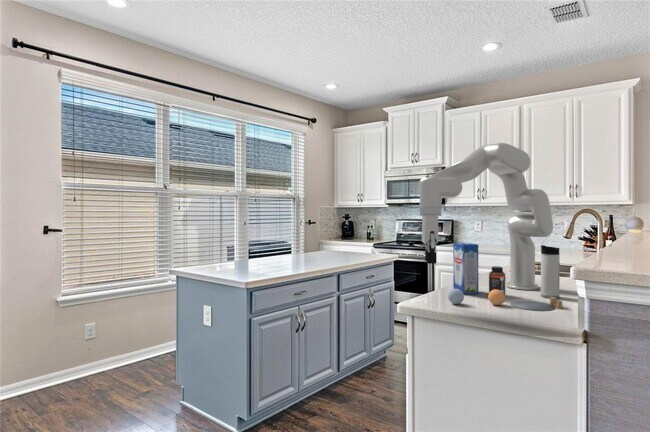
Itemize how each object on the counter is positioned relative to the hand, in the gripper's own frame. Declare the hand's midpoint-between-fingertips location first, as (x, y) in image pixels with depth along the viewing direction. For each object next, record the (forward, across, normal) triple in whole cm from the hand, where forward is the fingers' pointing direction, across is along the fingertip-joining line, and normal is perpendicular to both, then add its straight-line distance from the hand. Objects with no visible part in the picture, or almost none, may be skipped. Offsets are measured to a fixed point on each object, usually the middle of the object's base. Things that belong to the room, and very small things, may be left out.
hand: (430, 261), depth 145 cm
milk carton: (+16, -22, +16) cm, 32 cm away
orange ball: (+13, -2, +23) cm, 26 cm away
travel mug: (+16, -16, +46) cm, 52 cm away
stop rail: (+15, -2, +43) cm, 46 cm away
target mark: (+15, -2, +35) cm, 38 cm away
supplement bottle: (+16, -18, +28) cm, 36 cm away
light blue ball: (+13, -2, +9) cm, 16 cm away
